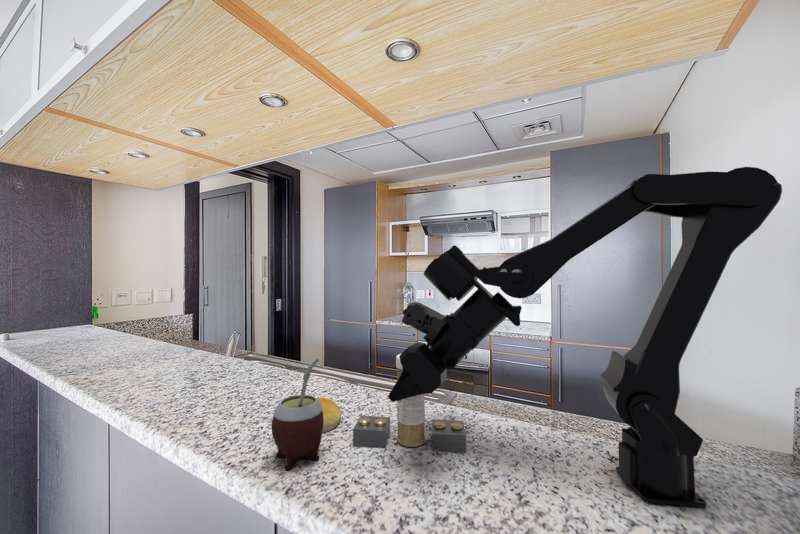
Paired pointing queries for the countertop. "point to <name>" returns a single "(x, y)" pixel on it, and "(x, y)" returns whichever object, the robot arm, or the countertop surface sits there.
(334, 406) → the bread roll
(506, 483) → the countertop surface
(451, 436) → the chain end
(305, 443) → the mate gourd
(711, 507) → the countertop surface
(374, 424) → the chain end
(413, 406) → the sprinkles bottle
